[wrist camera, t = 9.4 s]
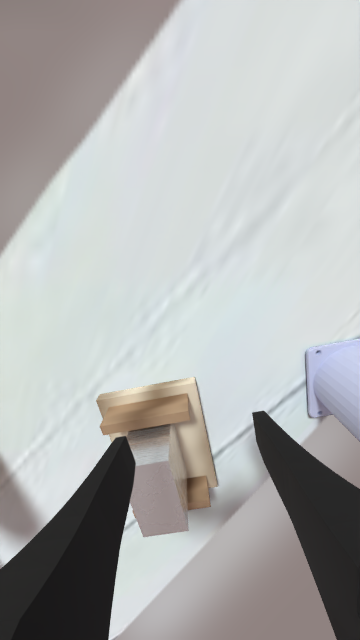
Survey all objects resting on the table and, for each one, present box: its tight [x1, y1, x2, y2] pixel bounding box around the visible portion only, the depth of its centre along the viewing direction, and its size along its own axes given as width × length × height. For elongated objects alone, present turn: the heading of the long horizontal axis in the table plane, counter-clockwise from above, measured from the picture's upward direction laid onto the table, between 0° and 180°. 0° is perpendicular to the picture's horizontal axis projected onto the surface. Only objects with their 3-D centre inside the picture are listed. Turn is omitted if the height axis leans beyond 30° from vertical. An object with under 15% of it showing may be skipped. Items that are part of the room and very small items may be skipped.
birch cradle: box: [96, 377, 218, 518], centre depth 22 cm, size 10×14×4 cm
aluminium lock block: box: [127, 423, 189, 537], centre depth 20 cm, size 4×8×6 cm, turn 12°
